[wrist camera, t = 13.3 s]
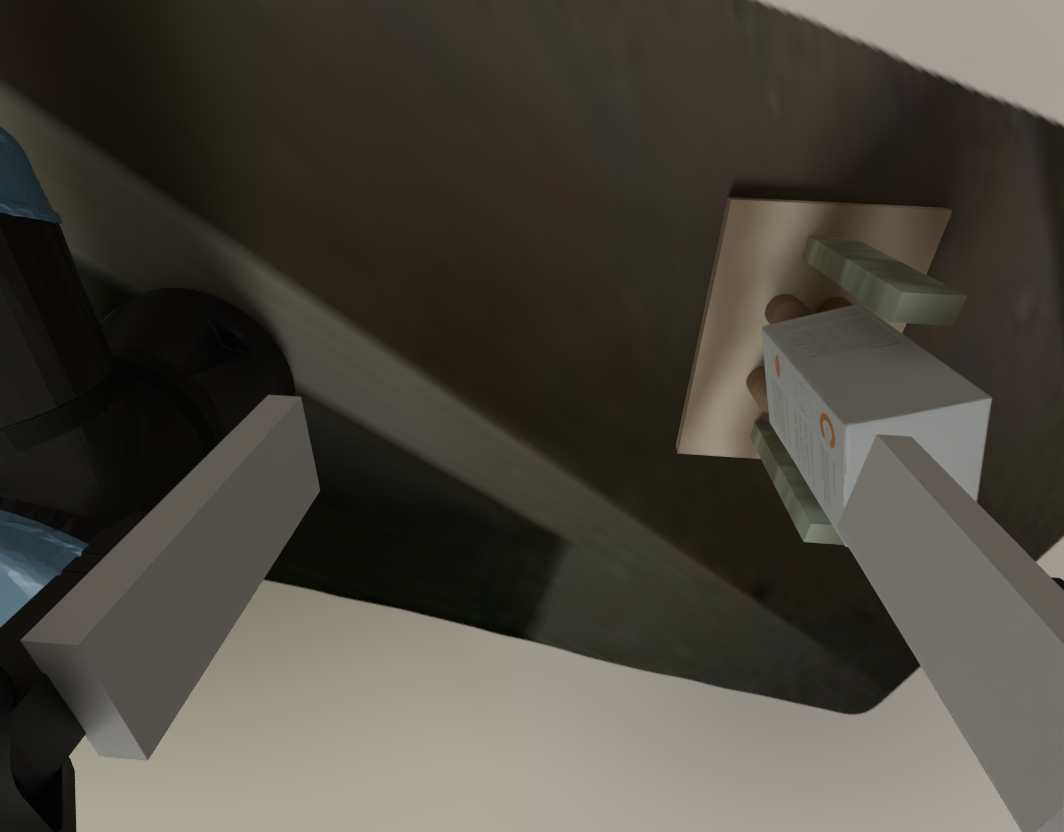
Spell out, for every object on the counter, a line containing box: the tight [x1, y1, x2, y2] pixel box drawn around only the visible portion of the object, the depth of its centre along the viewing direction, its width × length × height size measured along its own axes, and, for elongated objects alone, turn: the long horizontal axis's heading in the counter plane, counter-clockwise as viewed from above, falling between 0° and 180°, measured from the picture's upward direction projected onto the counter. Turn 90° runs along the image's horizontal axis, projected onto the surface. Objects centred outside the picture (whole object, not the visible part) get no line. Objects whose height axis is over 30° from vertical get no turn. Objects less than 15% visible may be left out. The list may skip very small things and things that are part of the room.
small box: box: [762, 304, 993, 547], centre depth 32 cm, size 8×6×13 cm
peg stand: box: [676, 197, 967, 545], centre depth 35 cm, size 14×20×13 cm
